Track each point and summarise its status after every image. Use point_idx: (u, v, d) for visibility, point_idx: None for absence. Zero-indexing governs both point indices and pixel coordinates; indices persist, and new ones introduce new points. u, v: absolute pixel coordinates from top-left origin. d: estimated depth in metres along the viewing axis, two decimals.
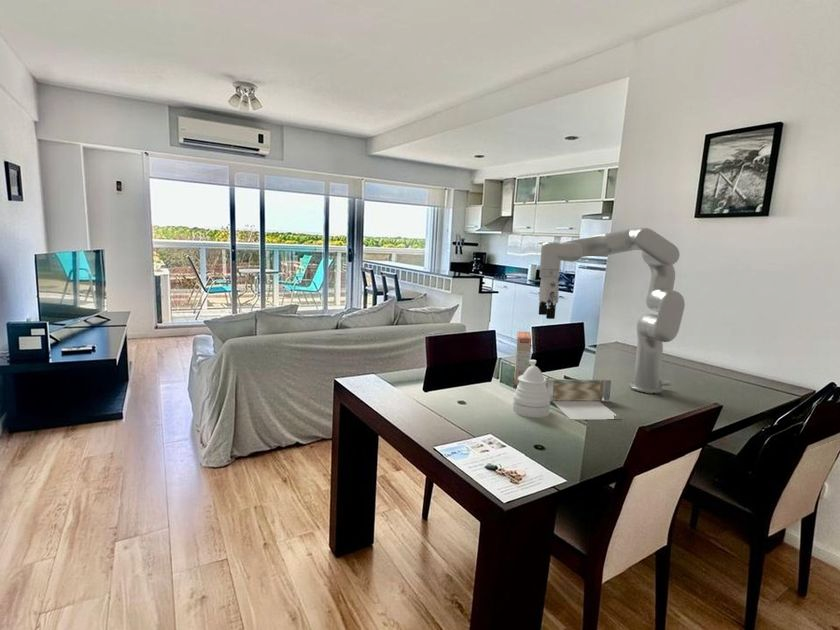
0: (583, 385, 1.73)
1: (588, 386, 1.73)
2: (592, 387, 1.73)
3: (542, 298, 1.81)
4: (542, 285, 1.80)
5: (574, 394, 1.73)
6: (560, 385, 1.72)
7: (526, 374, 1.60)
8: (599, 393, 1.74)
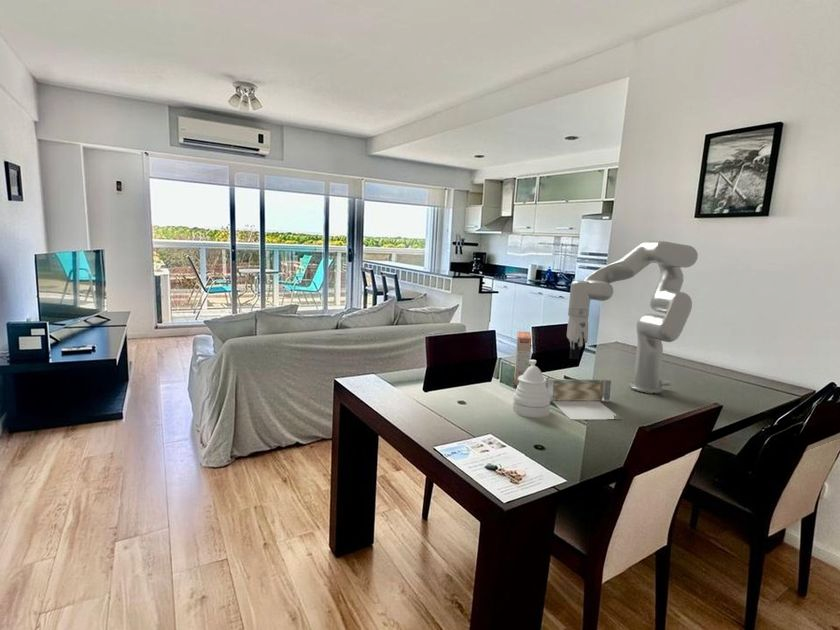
0: (583, 385, 1.73)
1: (588, 386, 1.73)
2: (592, 387, 1.73)
3: (570, 337, 1.77)
4: (571, 324, 1.77)
5: (574, 394, 1.73)
6: (560, 385, 1.72)
7: (526, 374, 1.60)
8: (599, 393, 1.74)
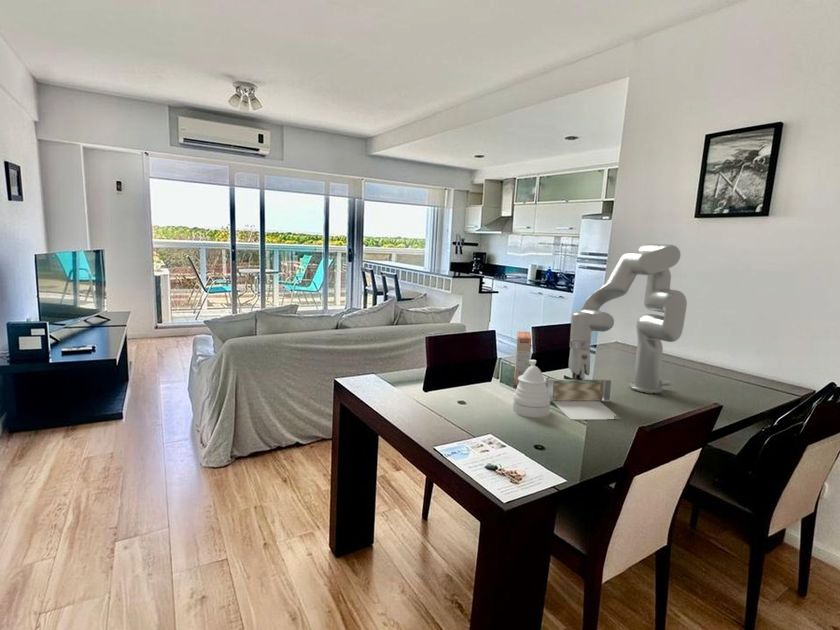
0: (583, 385, 1.73)
1: (588, 386, 1.73)
2: (592, 387, 1.73)
3: (572, 368, 1.76)
4: (572, 355, 1.75)
5: (574, 394, 1.73)
6: (560, 385, 1.72)
7: (526, 374, 1.60)
8: (599, 393, 1.74)
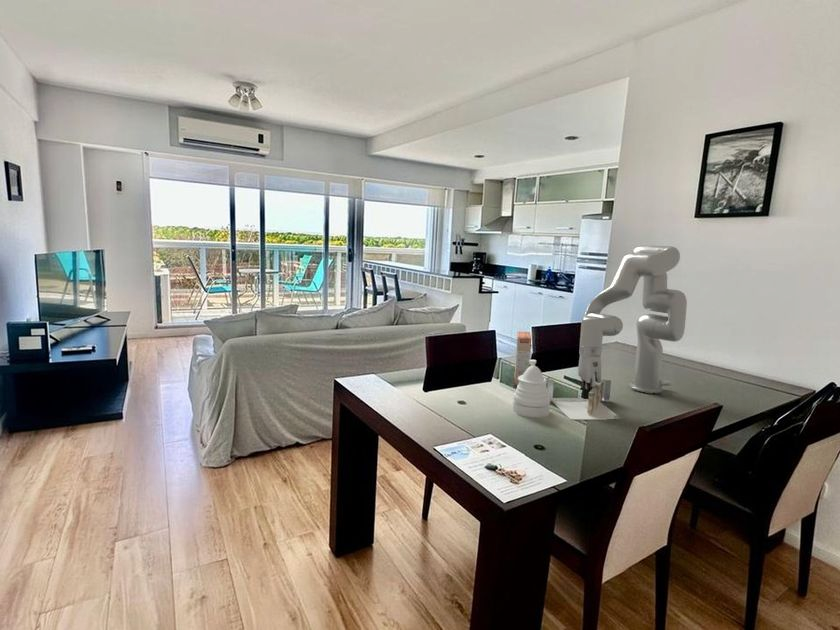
0: (599, 390, 1.68)
1: (600, 389, 1.69)
2: (600, 389, 1.71)
3: (582, 376, 1.67)
4: (582, 362, 1.66)
5: (596, 402, 1.66)
6: (593, 397, 1.60)
7: (526, 374, 1.60)
8: (601, 393, 1.74)
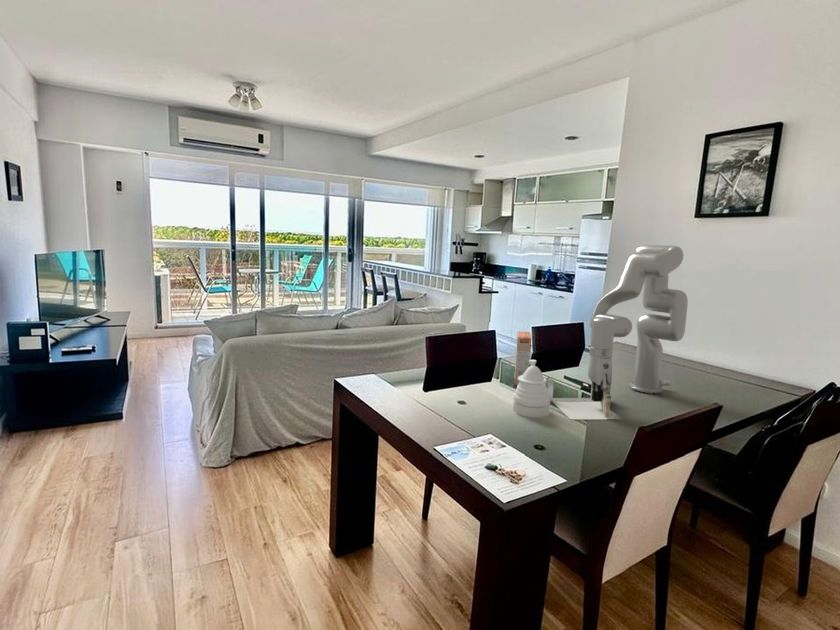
0: None
1: None
2: None
3: (593, 378, 1.65)
4: (593, 364, 1.64)
5: None
6: None
7: (526, 374, 1.60)
8: None
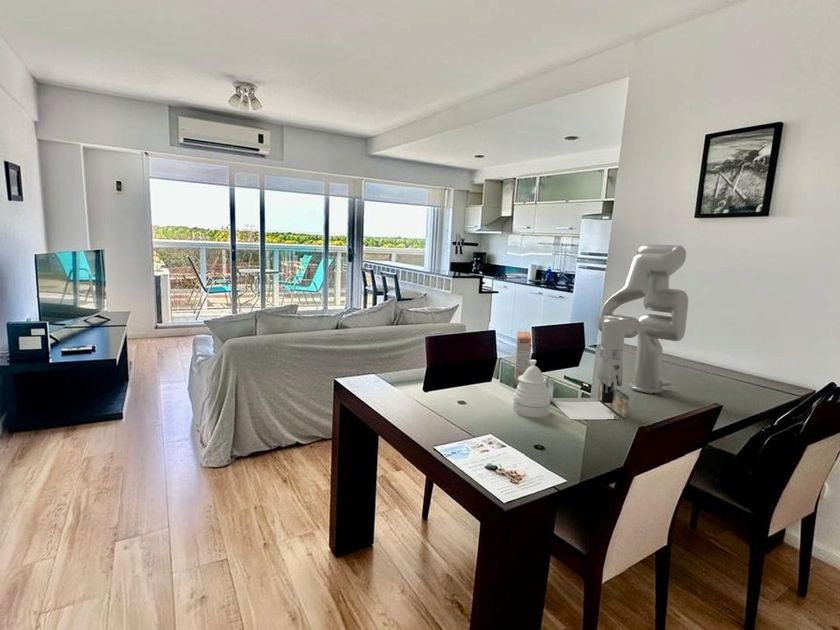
0: None
1: None
2: None
3: (603, 379, 1.63)
4: (603, 365, 1.62)
5: None
6: None
7: (526, 374, 1.60)
8: None
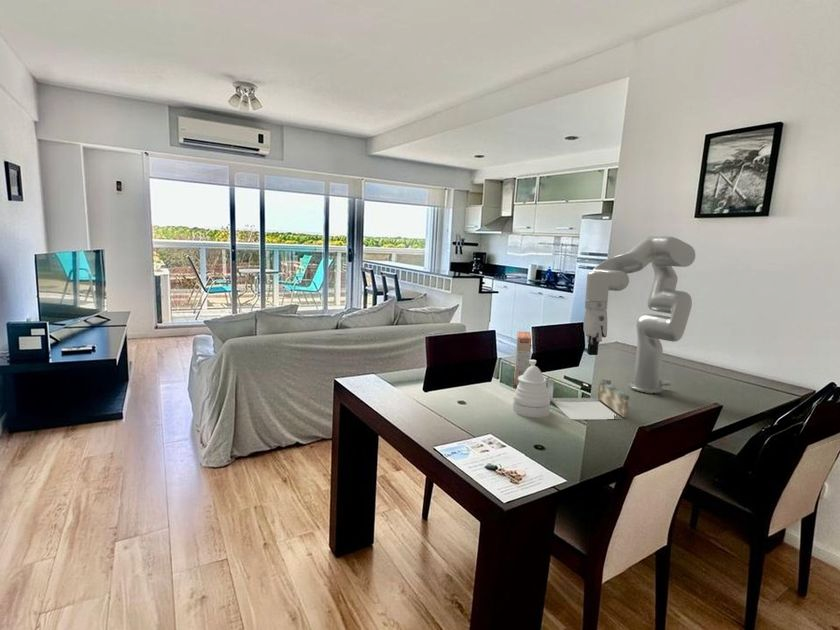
0: None
1: None
2: None
3: (588, 331, 1.66)
4: (588, 317, 1.65)
5: None
6: None
7: (526, 374, 1.60)
8: None
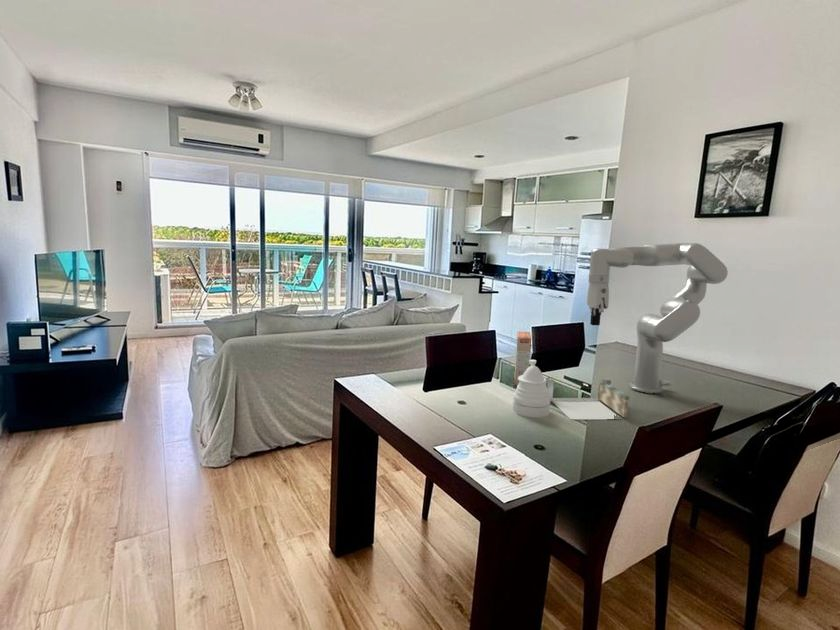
0: None
1: None
2: None
3: (591, 304, 1.83)
4: (591, 291, 1.82)
5: None
6: None
7: (526, 374, 1.60)
8: None
